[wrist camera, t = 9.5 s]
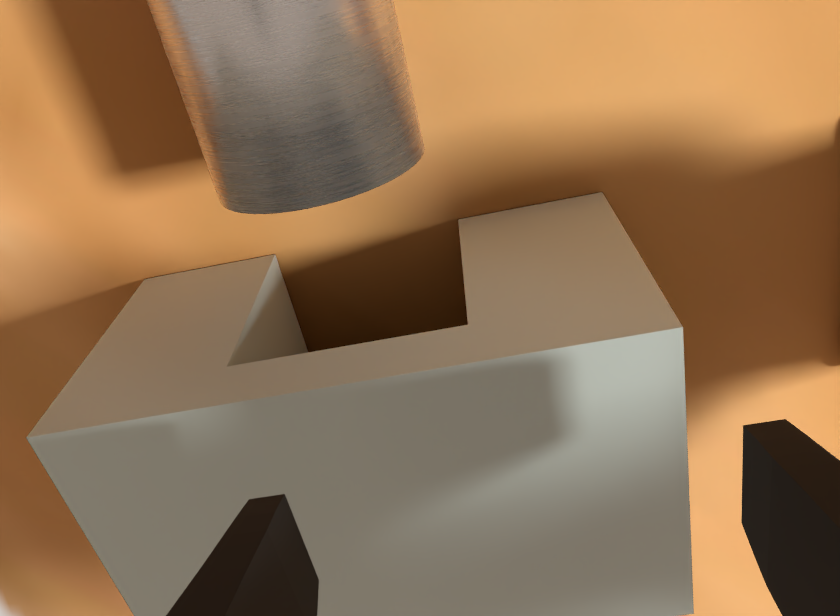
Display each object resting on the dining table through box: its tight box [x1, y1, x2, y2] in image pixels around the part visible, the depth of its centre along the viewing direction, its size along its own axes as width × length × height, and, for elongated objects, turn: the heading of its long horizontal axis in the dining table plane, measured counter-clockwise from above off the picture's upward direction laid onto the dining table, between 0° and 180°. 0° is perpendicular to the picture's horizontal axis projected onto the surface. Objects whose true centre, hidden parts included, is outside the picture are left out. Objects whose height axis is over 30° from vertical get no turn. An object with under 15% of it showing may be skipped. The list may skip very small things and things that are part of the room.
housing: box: [26, 192, 694, 616], centre depth 19 cm, size 13×8×7 cm, turn 102°
